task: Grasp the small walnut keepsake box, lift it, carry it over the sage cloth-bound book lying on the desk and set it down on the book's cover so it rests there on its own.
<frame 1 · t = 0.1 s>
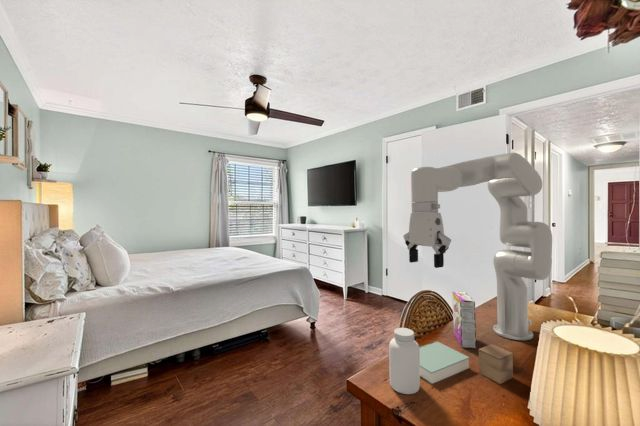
hand: (425, 264, 87), 31 cm above the table, fingers open, 9 cm apart
book: (434, 366, 87), on the table
pill bottle: (404, 386, 78), on the table
candy bar box: (464, 341, 103), on the table
walnut block: (495, 375, 82), on the table
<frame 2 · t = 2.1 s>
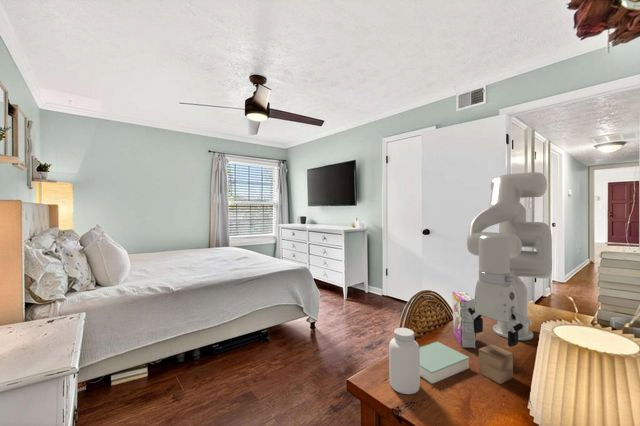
hand: (494, 338, 81), 11 cm above the table, fingers open, 9 cm apart
nothing on the table moved.
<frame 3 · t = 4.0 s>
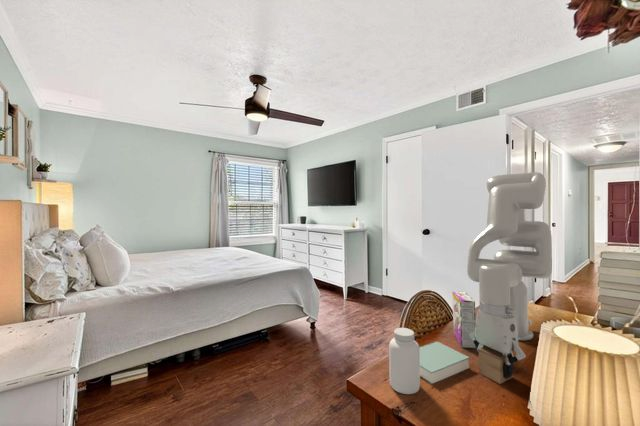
hand: (495, 370, 81), 1 cm above the table, fingers closed on walnut block, 6 cm apart
walnut block: (495, 375, 82), on the table, touching gripper
everything else where it was.
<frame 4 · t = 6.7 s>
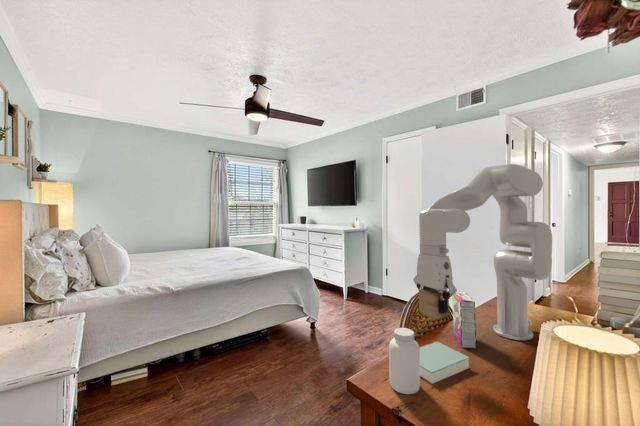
hand: (433, 308, 87), 18 cm above the table, fingers closed on walnut block, 6 cm apart
walnut block: (433, 313, 87), point 16 cm above the table, touching gripper
everything else where it was.
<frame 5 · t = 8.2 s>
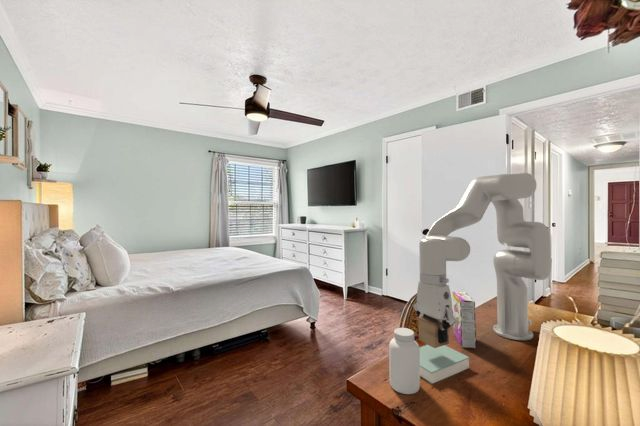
hand: (433, 337, 87), 9 cm above the table, fingers closed on walnut block, 6 cm apart
walnut block: (433, 341, 87), point 7 cm above the table, touching gripper
everything else where it was.
when the fingers open (6 cm above the table, at t = 9.7 s): walnut block drops 1 cm, resting on book.
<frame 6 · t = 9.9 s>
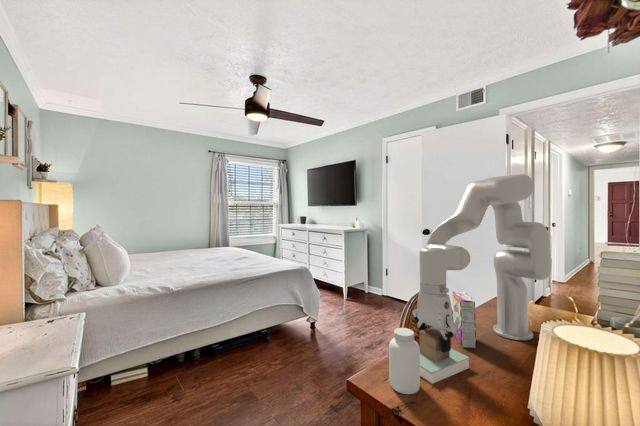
hand: (434, 345, 87), 6 cm above the table, fingers open, 8 cm apart
book: (434, 366, 87), on the table, touching walnut block
walnut block: (434, 355, 87), point 3 cm above the table, touching book
everything else where it was.
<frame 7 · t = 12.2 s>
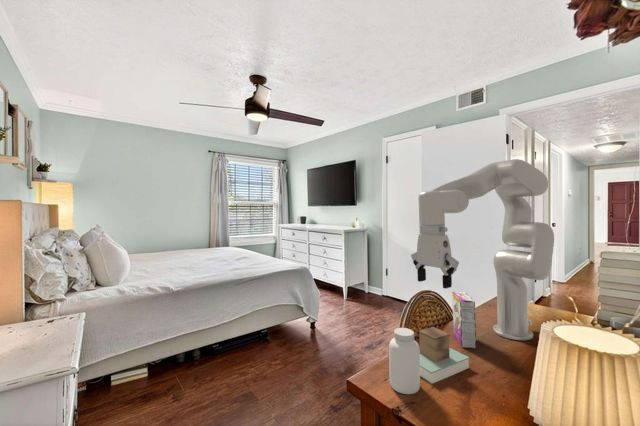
hand: (434, 284, 90), 24 cm above the table, fingers open, 9 cm apart
nothing on the table moved.
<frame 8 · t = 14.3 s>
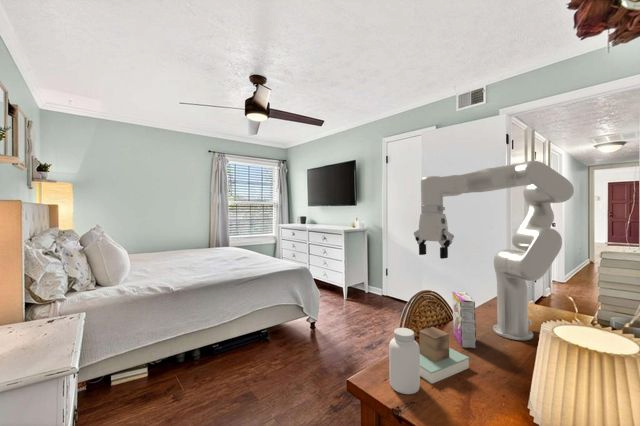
hand: (432, 256, 105), 30 cm above the table, fingers open, 9 cm apart
nothing on the table moved.
at the end: walnut block inside the target area on the book (0.0 cm from its centre), point 3.5 cm above the book's base; walnut block tilted 0°; the gripper is holding nothing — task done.
